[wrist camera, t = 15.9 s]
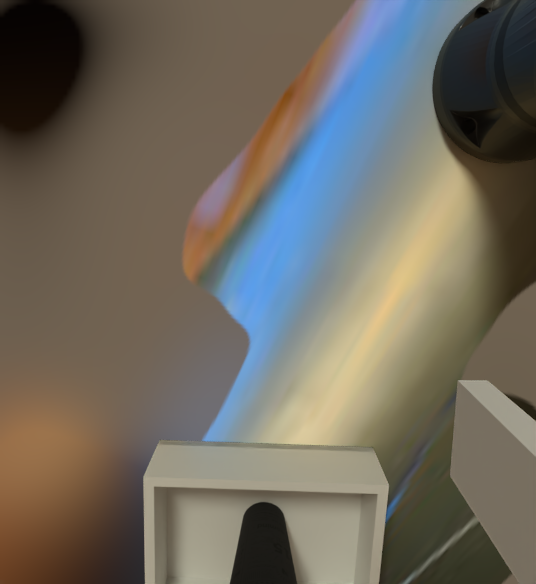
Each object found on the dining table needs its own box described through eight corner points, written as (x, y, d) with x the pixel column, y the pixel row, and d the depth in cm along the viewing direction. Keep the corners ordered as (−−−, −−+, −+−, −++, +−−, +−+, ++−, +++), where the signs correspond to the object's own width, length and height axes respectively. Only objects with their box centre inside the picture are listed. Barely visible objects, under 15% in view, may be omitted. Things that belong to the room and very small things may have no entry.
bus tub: (372, 447, 52) (388, 485, 45) (359, 583, 55) (373, 637, 48) (159, 439, 51) (143, 476, 45) (160, 577, 55) (145, 630, 48)
